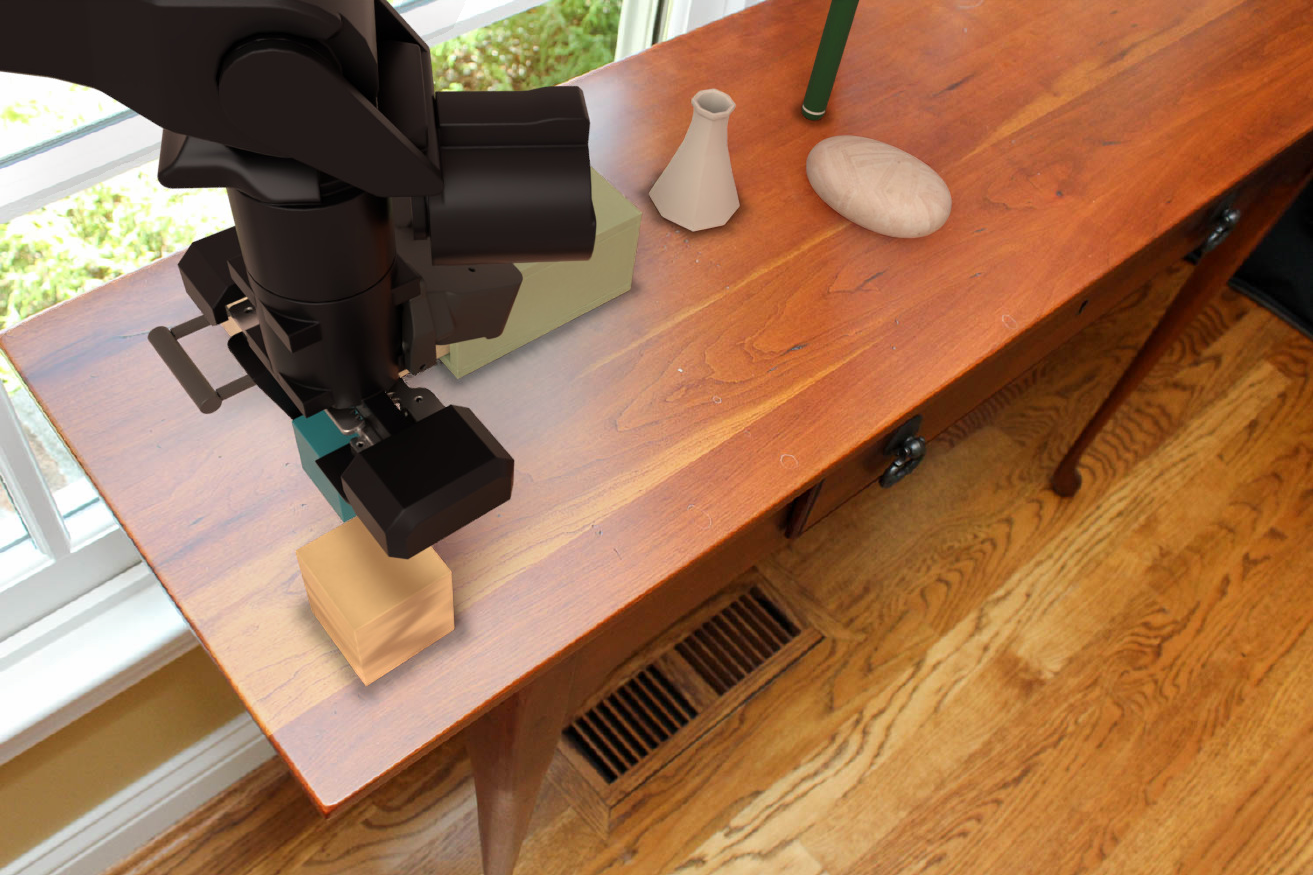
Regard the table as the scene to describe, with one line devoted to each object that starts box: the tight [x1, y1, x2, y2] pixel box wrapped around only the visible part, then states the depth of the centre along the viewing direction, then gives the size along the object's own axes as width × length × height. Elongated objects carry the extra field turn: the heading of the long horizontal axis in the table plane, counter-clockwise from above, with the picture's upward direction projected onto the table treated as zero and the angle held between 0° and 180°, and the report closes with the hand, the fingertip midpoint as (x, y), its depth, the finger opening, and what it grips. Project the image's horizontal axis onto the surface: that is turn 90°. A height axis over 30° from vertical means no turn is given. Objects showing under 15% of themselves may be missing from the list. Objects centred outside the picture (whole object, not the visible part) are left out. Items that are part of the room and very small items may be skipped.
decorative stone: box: [805, 134, 953, 239], centre depth 89 cm, size 13×9×5 cm
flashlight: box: [801, 0, 860, 122], centre depth 90 cm, size 5×5×20 cm
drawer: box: [147, 297, 450, 415], centre depth 71 cm, size 20×13×6 cm, turn 130°
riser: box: [295, 516, 455, 687], centre depth 61 cm, size 6×6×7 cm
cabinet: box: [438, 165, 643, 380], centre depth 78 cm, size 16×14×8 cm
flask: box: [648, 87, 741, 232], centre depth 85 cm, size 7×7×10 cm
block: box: [291, 407, 362, 523], centre depth 52 cm, size 4×4×4 cm
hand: (358, 476), depth 54 cm, fingers closed on block, 4 cm apart
